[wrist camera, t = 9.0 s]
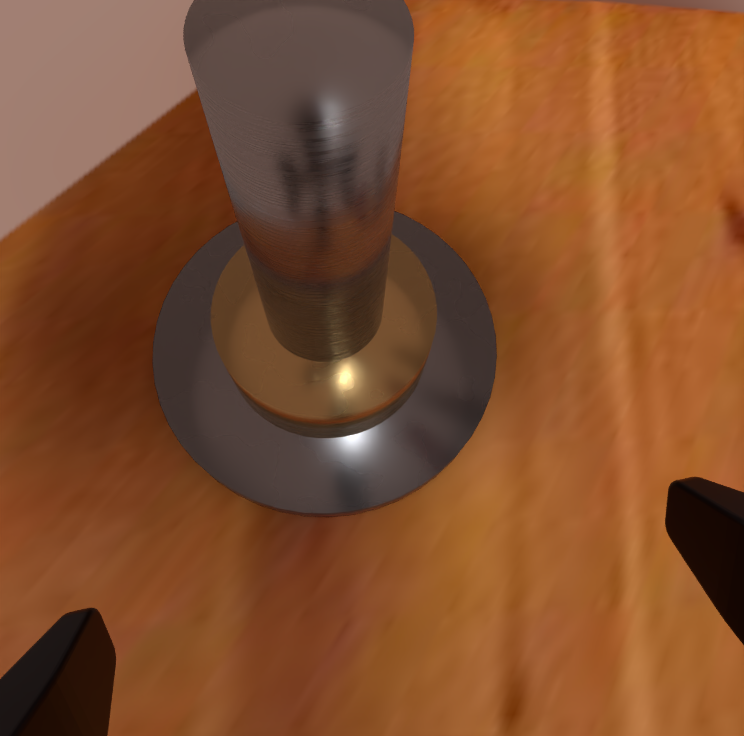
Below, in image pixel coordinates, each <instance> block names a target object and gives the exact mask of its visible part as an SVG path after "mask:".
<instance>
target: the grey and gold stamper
mask: <svg viewBox="0 0 744 736" xmlns="http://www.w3.org/2000/svg"><path fill="white" fill-rule="evenodd" d="M413 42H414V28H413V22H412V18H411V15H410V12H409V10H408V7H407V6H406V4H405V2H404V0H194V1H193V3H192V5H191V7H190V9H189V11H188V14H187V16H186V20H185V25H184V45H185V50H186V54H187V57H188V61H189V63H190V67H191V70H192V74H193V77H194V80H195V84H196V87H197V90H198V94H199V97H200V100H201V103H202V107H203V110H204V113H205V117H206V120H207V123H208V126H209V130H210V133H211V136H212V140H213V143H214V146H215V150H216V153H217V156H218V159H219V163H220V166H221V169H222V173H223V176H224V179H225V183H226V186H227V189H228V192H229V196H230V199H231V202H232V206H233V209H234V212H235V216H236V219H237V222H238V225H239V229H240V232H241V235H242V239H243V242H244V245H243V246H242V247H241V248H240V249H239V250H238V251H237V252H236V253H235V255H234V256H233V257H232V258H231V259H230V261H229V262H228V264H227V265H226V267H225V268H224V270H223V272H222V273H221V276H220V278H219V280H218V282H217V284H216V288H215V291H214V295H213V299H212V306H211V328H212V334H213V339H214V342H215V345H216V348H217V351H218V353H219V355H220V357H221V359H222V361H223V363H224V365H225V367H226V369H227V371H228V373H229V374H230V376H231V378H232V380H233V382H234V383H235V385H236V387H237V389H238V391H239V392H240V394H241V395H242V397H243V398H244V400H245V401H246V402H247V403H248V404H249V405H250V407H251V408H252V409H253V410H254V411H255V412H256V413H258V414H259V415H260V416H261V417H263V418H264V419H265V420H267V421H268V422H270V423H272V424H273V425H275V426H277V427H279V428H281V429H283V430H285V431H288V432H291V433H294V434H297V435H301V436H306V437H313V438H338V437H346V436H350V435H354V434H358V433H361V432H363V431H366V430H369V429H371V428H373V427H375V426H377V425H379V424H381V423H382V422H384V421H385V420H387V419H388V418H389V417H391V416H392V415H393V414H395V413H396V412H397V411H398V410H399V409H400V408H401V407H402V406H403V405H404V404H405V403H406V401H407V400H408V399H409V398H410V397H411V395H412V393H413V392H414V390H415V388H416V387H417V385H418V383H419V380H420V378H421V376H422V373H423V370H424V367H425V364H426V361H427V358H428V355H429V352H430V349H431V346H432V342H433V339H434V335H435V331H436V323H437V304H436V298H435V293H434V290H433V286H432V283H431V280H430V278H429V276H428V274H427V272H426V270H425V268H424V267H423V265H422V264H421V262H420V260H419V259H418V258H417V256H416V255H415V254H414V253H413V252H412V251H411V249H410V248H409V247H407V246H406V245H405V244H404V243H403V242H402V241H401V240H400V239H398V238H397V237H395V236H394V235H393V234H392V226H393V218H394V209H395V200H396V191H397V183H398V174H399V165H400V156H401V147H402V139H403V130H404V121H405V112H406V104H407V95H408V86H409V77H410V69H411V60H412V51H413Z"/></svg>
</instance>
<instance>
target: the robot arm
mask: <svg viewBox="0 0 744 736" xmlns="http://www.w3.org/2000/svg"><path fill="white" fill-rule="evenodd" d="M665 525H666V530H667V533H668V535H669V537H670V539H671V540H672V542H673V543H674V545H675V546H676V548H677V550H678V551H679V553H680V554H681V556H682V557H683V559H684V560H685V562H686V563H687V565H688V566H689V568H690V569H691V571H692V572H693V574H694V575H695V577H696V579H697V580H698V582H699V583H700V585H701V586H702V588H703V589H704V591H705V592H706V594H707V595H708V597H709V598H710V600H711V601H712V603H713V604H714V606H715V607H716V609H717V610H718V612H719V613H720V615H721V616H722V617H723V619H724V620H725V622H726V623H727V624H728V626H729V627H730V628H731V629H732V631H733V632H734V633H735V635H736V636H737V637H738V638H739V640H740V641H741V642H742V643H743V645H744V492H741V491H738V490H735V489H732V488H729V487H726V486H723V485H720V484H717V483H715V482H712V481H709V480H706V479H703V478H700V477H690V478H685V479H680V480H676V481H674V482H672V483H671V484H670V486H669V489H668V497H667V507H666V517H665ZM115 667H116V654H115V648H114V645H113V643H112V640H111V638H110V636H109V633H108V631H107V628H106V626H105V624H104V621H103V619H102V616H101V614H100V613H99V611H98V610H97V609H95V608H87V609H82V610H77V611H73V612H69V613H66V614H65V615H63V616H62V617H61V618H60V619H59V620H58V621H57V622H56V623H55V624H54V625H53V626H52V627H51V628H50V629H49V630H48V631H47V632H46V633H45V634H44V635H43V636H42V637H41V638H40V639H39V640H38V641H37V642H36V643H35V644H34V645H33V646H32V647H31V648H30V649H29V650H28V651H27V652H26V653H25V654H24V655H23V656H22V657H21V658H20V659H19V660H18V661H17V662H16V663H15V664H14V665H13V666H12V667H11V668H10V669H9V670H8V671H7V673H6V674H5V675H4V676H3V677H2V678H1V679H0V736H107V735H108V727H109V718H110V710H111V701H112V693H113V684H114V675H115Z"/></svg>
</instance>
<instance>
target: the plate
mask: <svg viewBox="0 0 744 736" xmlns="http://www.w3.org/2000/svg"><path fill="white" fill-rule="evenodd" d="M392 234H393V235H394V236H395V237H397V238H398V239H400V240H401V241H402V242H403V243H404V244H405V245H406V246H407V247H409V248H410V249H411V251H412V252H413V253H414V254H415V255H416V256H417V258H418V259H419V260H420V262H421V264H422V265H423V267H424V268H425V270H426V272H427V274H428V276H429V278H430V280H431V283H432V286H433V290H434V293H435V298H436V304H437V323H436V331H435V335H434V339H433V342H432V346H431V349H430V352H429V355H428V358H427V361H426V364H425V367H424V370H423V373H422V376H421V378H420V380H419V383H418V385H417V387H416V388H415V390H414V392H413V393H412V395H411V397H410V398H409V399H408V400H407V401H406V403H405V404H404V405H403V406H402V407H401V408H400V409H399V410H398V411H397V412H396V413H395V414H393V415H392V416H391V417H389V418H388V419H387V420H385V421H384V422H382V423H381V424H379V425H377V426H375V427H373V428H371V429H369V430H366V431H363V432H361V433H358V434H354V435H350V436H346V437H338V438H313V437H306V436H301V435H297V434H294V433H291V432H288V431H285V430H283V429H281V428H279V427H277V426H275V425H273V424H272V423H270V422H268V421H267V420H265V419H264V418H263V417H261V416H260V415H259V414H258V413H256V412H255V411H254V410H253V409H252V408H251V407H250V405H249V404H248V403H247V402H246V401H245V400H244V398H243V397H242V395H241V394H240V392H239V391H238V389H237V387H236V385H235V383H234V382H233V380H232V378H231V376H230V374H229V373H228V371H227V369H226V367H225V365H224V363H223V361H222V359H221V357H220V355H219V353H218V351H217V348H216V345H215V342H214V339H213V334H212V328H211V306H212V299H213V295H214V291H215V288H216V284H217V282H218V280H219V278H220V276H221V273H222V272H223V270H224V268H225V267H226V265H227V264H228V262H229V261H230V259H231V258H232V257H233V256H234V255H235V253H236V252H237V251H238V250H239V249H240V248H241V247H242V246H243V245H244V242H243V239H242V235H241V232H240V229H239V225H238V222H235V223H233V224H232V225H230V226H228V227H227V228H225V229H224V230H223V231H221V232H220V233H218V234H217V235H215V236H214V237H213V238H212V239H210V240H209V241H208V242H207V243H206V244H205V245H204V246H203V247H202V248H200V249H199V250H198V251H197V252H196V253H195V255H194V256H193V257H192V258H191V259H190V260H189V261H188V263H187V264H186V265H185V266H184V267H183V269H182V270H181V272H180V273H179V275H178V276H177V278H176V279H175V281H174V282H173V284H172V286H171V288H170V290H169V292H168V294H167V296H166V298H165V300H164V303H163V306H162V308H161V311H160V314H159V317H158V320H157V325H156V331H155V336H154V341H153V371H154V380H155V386H156V390H157V394H158V398H159V402H160V405H161V407H162V410H163V412H164V414H165V417H166V419H167V422H168V424H169V426H170V427H171V429H172V431H173V432H174V434H175V435H176V437H177V439H178V440H179V442H180V444H181V445H182V446H183V447H184V448H185V450H186V451H187V452H188V453H189V454H190V456H191V457H192V458H193V459H194V460H195V461H196V462H197V463H198V464H199V465H200V466H201V467H202V468H203V469H204V470H206V471H207V472H208V473H209V474H210V475H211V476H212V477H213V478H215V479H216V480H217V481H218V482H219V483H221V484H222V485H224V486H225V487H227V488H228V489H230V490H231V491H233V492H234V493H236V494H237V495H239V496H241V497H243V498H245V499H248V500H250V501H252V502H254V503H256V504H258V505H260V506H264V507H267V508H270V509H273V510H276V511H279V512H283V513H289V514H295V515H300V516H310V517H336V516H346V515H354V514H359V513H363V512H367V511H371V510H376V509H378V508H381V507H384V506H386V505H389V504H391V503H394V502H397V501H399V500H401V499H402V498H404V497H406V496H408V495H410V494H412V493H413V492H415V491H417V490H419V489H420V488H421V487H423V486H424V485H426V484H427V483H428V482H430V481H431V480H432V479H434V478H435V477H436V476H437V475H438V474H439V473H440V472H441V471H443V470H444V469H445V468H446V467H447V466H448V465H449V464H450V463H451V462H452V461H453V459H454V458H455V457H456V455H457V454H458V453H459V452H460V450H461V449H462V448H463V446H464V445H465V444H466V443H467V441H468V440H469V439H470V437H471V436H472V434H473V432H474V431H475V429H476V427H477V425H478V424H479V422H480V420H481V418H482V416H483V414H484V411H485V409H486V406H487V404H488V401H489V399H490V395H491V391H492V387H493V383H494V378H495V369H496V358H497V353H496V335H495V330H494V325H493V320H492V315H491V313H490V310H489V307H488V304H487V301H486V298H485V296H484V294H483V292H482V290H481V288H480V286H479V284H478V282H477V280H476V278H475V277H474V275H473V274H472V272H471V271H470V269H469V268H468V266H467V265H466V264H465V262H464V261H463V260H462V259H461V258H460V257H459V256H458V254H457V253H456V252H455V251H454V250H453V249H452V248H451V247H450V246H449V245H448V244H447V243H445V242H444V241H443V240H442V239H441V238H440V237H439V236H438V235H436V234H435V233H433V232H432V231H430V230H429V229H427V228H426V227H425V226H423V225H422V224H420V223H418V222H416V221H414V220H412V219H411V218H409V217H407V216H405V215H403V214H400V213H398V212H395V211H394V218H393V226H392Z"/></svg>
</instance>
